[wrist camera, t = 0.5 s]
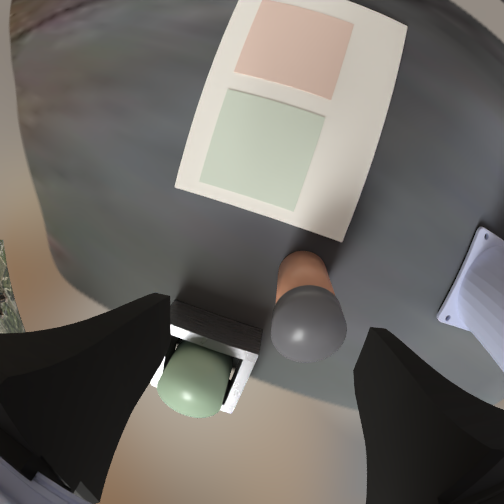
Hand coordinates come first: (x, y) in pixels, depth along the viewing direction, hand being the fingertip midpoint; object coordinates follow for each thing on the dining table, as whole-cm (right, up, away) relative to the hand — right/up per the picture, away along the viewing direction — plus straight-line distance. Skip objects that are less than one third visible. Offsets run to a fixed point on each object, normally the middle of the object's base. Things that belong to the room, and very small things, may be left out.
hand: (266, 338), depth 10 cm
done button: (-4, -5, +10) cm, 12 cm away
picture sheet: (+2, +13, +5) cm, 14 cm away
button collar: (-4, -5, +12) cm, 13 cm away
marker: (+3, +2, +9) cm, 10 cm away
